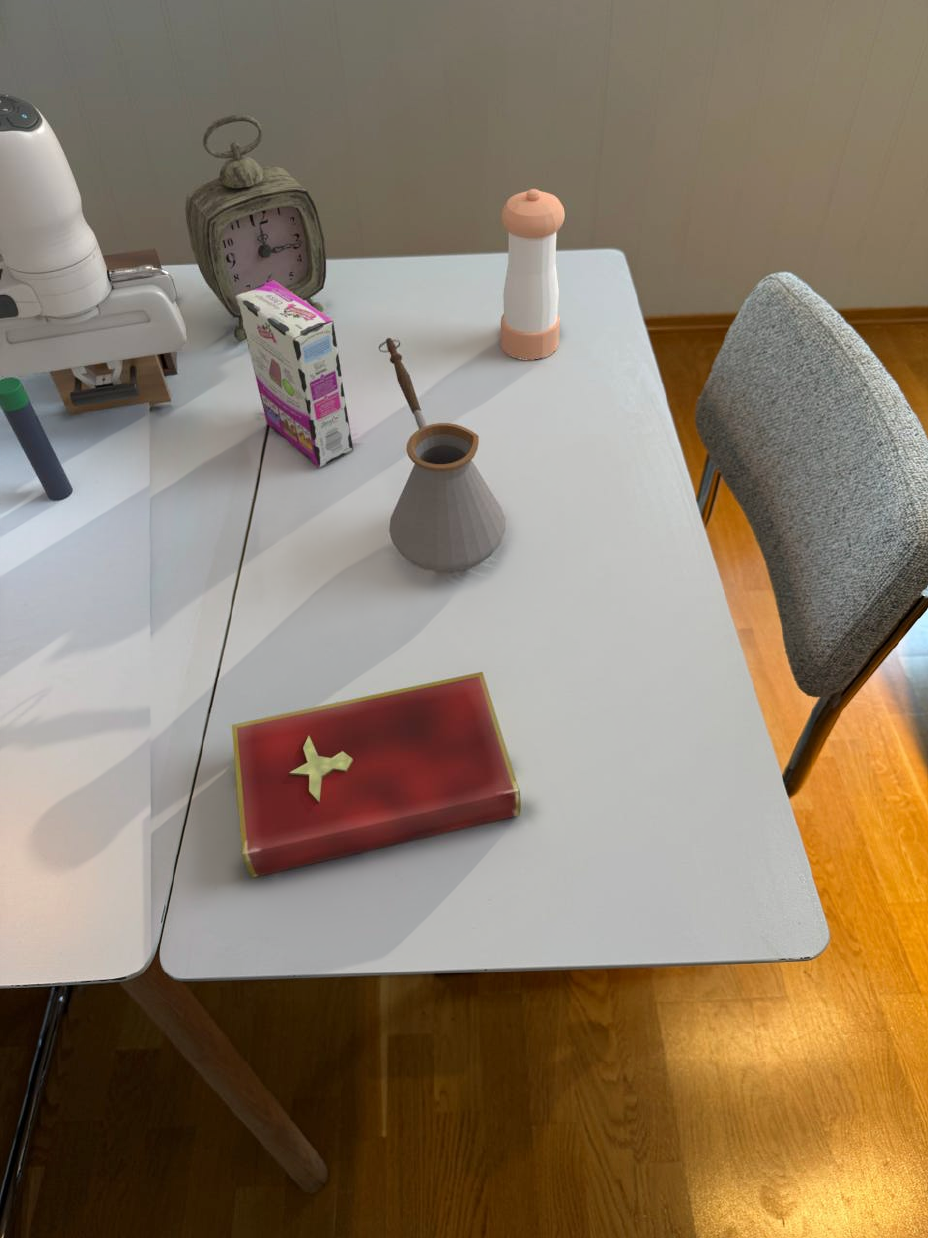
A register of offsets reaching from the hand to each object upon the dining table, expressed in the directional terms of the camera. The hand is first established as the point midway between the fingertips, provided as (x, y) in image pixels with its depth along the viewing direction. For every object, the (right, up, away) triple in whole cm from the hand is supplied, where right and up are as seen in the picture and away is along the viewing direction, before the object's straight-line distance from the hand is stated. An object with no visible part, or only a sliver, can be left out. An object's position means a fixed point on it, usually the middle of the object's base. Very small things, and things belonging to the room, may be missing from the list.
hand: (109, 392), depth 100 cm
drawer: (-1, +2, +7) cm, 8 cm away
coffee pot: (+36, -15, -7) cm, 40 cm away
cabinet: (-4, +9, +15) cm, 18 cm away
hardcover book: (+33, -39, -27) cm, 57 cm away
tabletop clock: (+14, +14, +18) cm, 27 cm away
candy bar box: (+22, -5, +2) cm, 23 cm away
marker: (-3, -13, -4) cm, 14 cm away
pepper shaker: (+48, +9, +12) cm, 50 cm away
